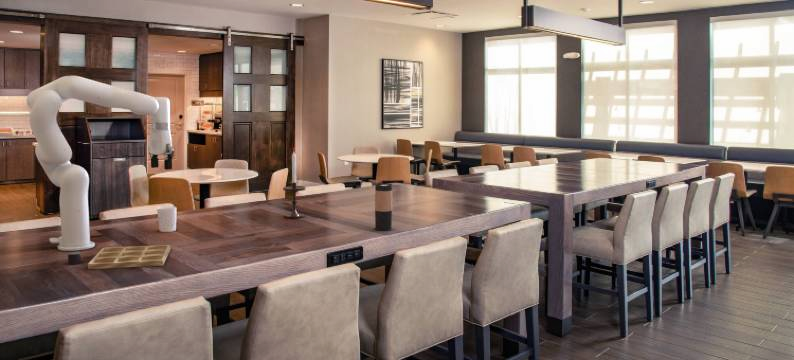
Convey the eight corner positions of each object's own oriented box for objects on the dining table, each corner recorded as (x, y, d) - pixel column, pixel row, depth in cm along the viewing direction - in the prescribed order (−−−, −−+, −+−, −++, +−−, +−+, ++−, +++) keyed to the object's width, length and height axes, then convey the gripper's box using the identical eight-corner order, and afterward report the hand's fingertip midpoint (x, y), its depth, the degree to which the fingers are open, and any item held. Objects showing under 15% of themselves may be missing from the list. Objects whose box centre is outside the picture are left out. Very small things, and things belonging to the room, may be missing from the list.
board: (87, 269, 208) (87, 264, 207) (102, 252, 230) (102, 247, 230) (163, 265, 213) (162, 260, 213) (170, 249, 236) (170, 244, 236)
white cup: (156, 232, 265) (155, 209, 264) (159, 229, 273) (158, 206, 272) (175, 232, 267) (175, 209, 265) (178, 228, 274) (177, 205, 273)
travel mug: (378, 231, 273) (378, 186, 270) (372, 228, 280) (372, 183, 277) (394, 230, 275) (395, 185, 273) (388, 227, 282) (388, 183, 280)
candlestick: (310, 216, 306) (309, 144, 302) (295, 219, 297) (294, 146, 293) (293, 214, 312) (292, 143, 307) (278, 217, 303) (277, 145, 298)
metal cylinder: (66, 264, 213) (66, 254, 213) (70, 261, 217) (69, 251, 217) (79, 264, 214) (79, 254, 214) (82, 261, 218) (82, 251, 218)
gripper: (140, 126, 260) (141, 167, 262) (164, 128, 250) (165, 170, 252) (156, 126, 266) (157, 166, 268) (180, 127, 256) (181, 169, 258)
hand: (161, 168), depth 260 cm, fingers open, 9 cm apart
